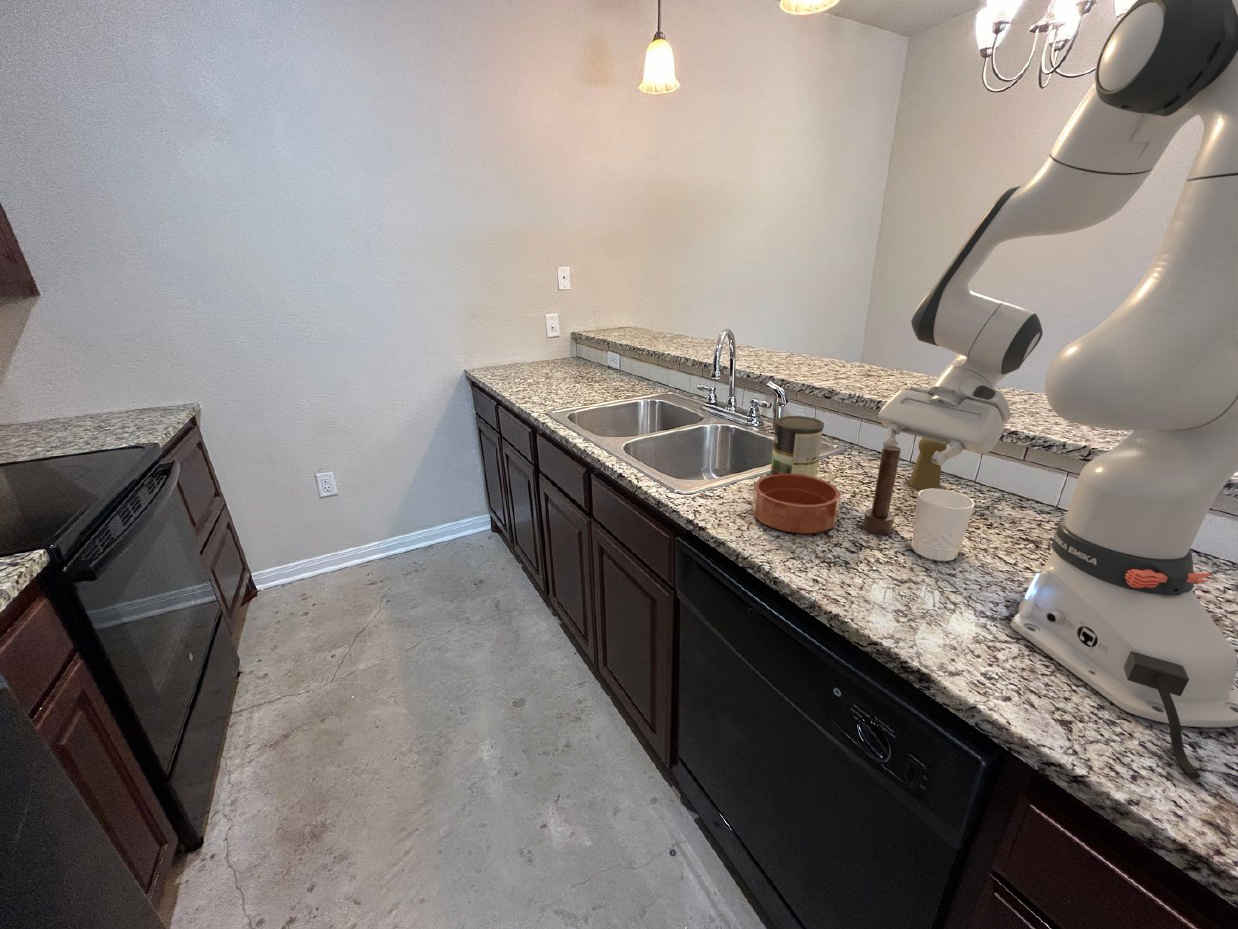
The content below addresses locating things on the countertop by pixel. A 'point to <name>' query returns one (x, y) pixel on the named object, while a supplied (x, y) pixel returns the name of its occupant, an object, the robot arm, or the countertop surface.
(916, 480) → the pepper grinder
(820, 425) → the coffee can
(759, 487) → the bowl
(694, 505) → the countertop surface
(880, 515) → the muddler
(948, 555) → the white cup
